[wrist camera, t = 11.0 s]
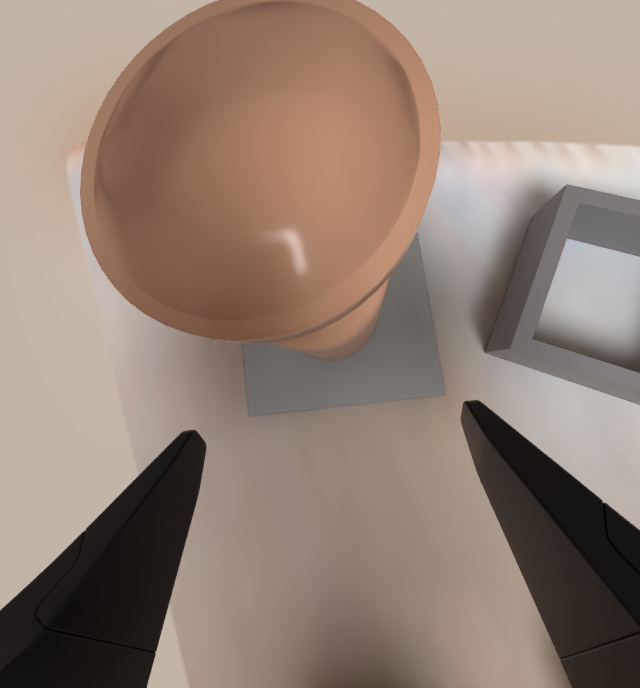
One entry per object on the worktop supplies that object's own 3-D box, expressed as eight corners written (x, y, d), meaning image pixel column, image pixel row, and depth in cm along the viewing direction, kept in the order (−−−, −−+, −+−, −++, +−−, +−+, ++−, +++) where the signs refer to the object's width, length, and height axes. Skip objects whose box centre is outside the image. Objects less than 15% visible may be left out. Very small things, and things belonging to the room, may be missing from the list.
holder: (653, 409, 15) (722, 418, 12) (484, 352, 17) (509, 348, 14) (702, 257, 16) (780, 231, 13) (532, 216, 17) (566, 184, 14)
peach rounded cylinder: (391, 357, 17) (477, 304, 4) (285, 371, 18) (83, 363, 5) (370, 225, 18) (387, -146, 5) (271, 244, 19) (76, -30, 6)
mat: (440, 393, 17) (445, 394, 16) (254, 414, 19) (248, 416, 18) (409, 211, 19) (411, 202, 18) (238, 245, 20) (232, 238, 19)
